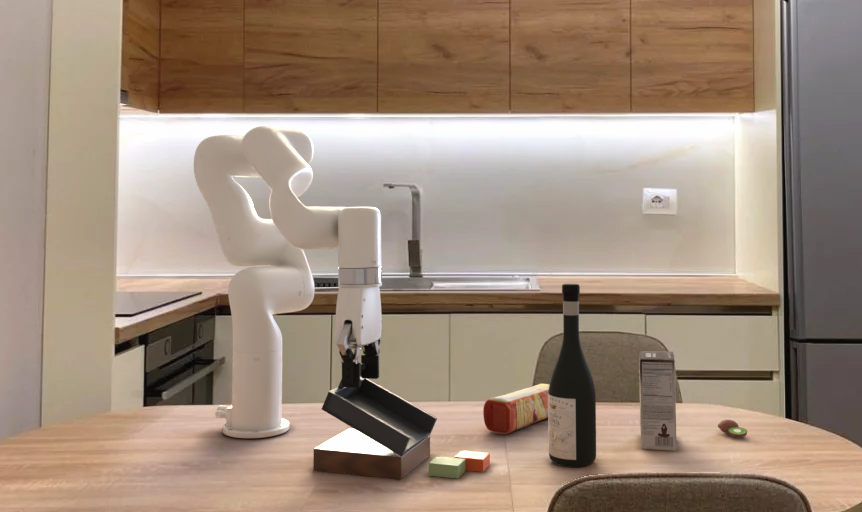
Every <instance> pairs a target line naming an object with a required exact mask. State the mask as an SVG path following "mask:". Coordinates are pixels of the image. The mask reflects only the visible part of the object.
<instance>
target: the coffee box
mask: <svg viewBox="0 0 862 512" xmlns="http://www.w3.org/2000/svg"><path fill="white" fill-rule="evenodd" d="M638 356H639V357H638V367H639V368H638V373H639V374H638V375H639V376H638V378H639V381H638V382H639V384H638V385H639V421H640V422H639V424H640V425H639V426H640V427H639V428H640V446H641V447H640V448H641V449H642V450H652V451H653V450H655V451H657V450H658V451H673V452H677V400H676V396H677V393H676V389H677V388H676V359H675V354H674V352H673V351H660V350H659V351H657V350H656V351H655V350H653V351H652V350H640V351H639V353H638Z"/></svg>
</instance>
